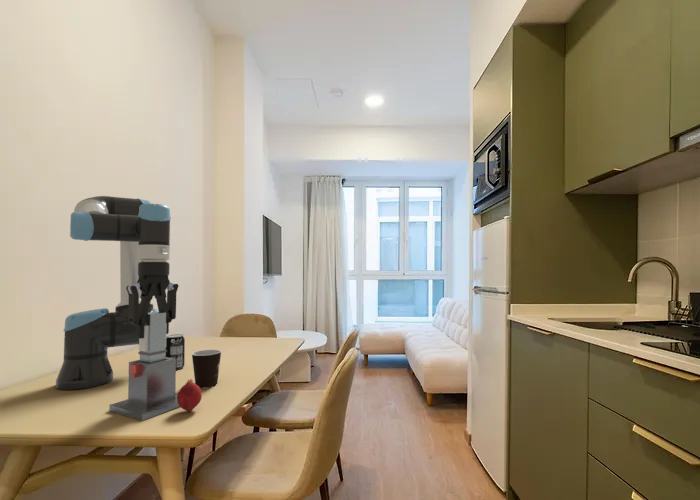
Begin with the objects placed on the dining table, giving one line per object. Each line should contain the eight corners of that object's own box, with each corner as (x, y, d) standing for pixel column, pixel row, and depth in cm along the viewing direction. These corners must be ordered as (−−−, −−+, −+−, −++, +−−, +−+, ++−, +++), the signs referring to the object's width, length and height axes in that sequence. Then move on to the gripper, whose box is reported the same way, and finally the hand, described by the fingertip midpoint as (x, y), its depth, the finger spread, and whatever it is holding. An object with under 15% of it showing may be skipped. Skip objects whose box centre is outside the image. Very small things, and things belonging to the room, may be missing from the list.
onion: (200, 414, 92) (200, 381, 92) (175, 417, 90) (175, 383, 91) (202, 406, 98) (202, 375, 98) (178, 408, 96) (179, 377, 96)
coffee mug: (211, 389, 111) (211, 356, 112) (185, 388, 113) (185, 355, 113) (231, 378, 123) (231, 348, 123) (207, 377, 124) (207, 347, 125)
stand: (109, 410, 95) (110, 363, 96) (160, 394, 107) (160, 352, 108) (141, 420, 88) (142, 369, 89) (192, 402, 101) (192, 357, 101)
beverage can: (171, 365, 141) (172, 334, 141) (188, 366, 140) (188, 334, 140) (160, 370, 134) (161, 337, 135) (177, 370, 133) (177, 337, 134)
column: (137, 398, 97) (138, 313, 98) (155, 392, 101) (156, 311, 103) (148, 401, 95) (150, 314, 96) (166, 395, 99) (167, 312, 100)
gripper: (129, 260, 91) (127, 357, 89) (191, 261, 106) (190, 344, 105) (112, 261, 94) (110, 354, 93) (174, 262, 110) (173, 341, 108)
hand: (152, 348), depth 99 cm, fingers closed on column, 4 cm apart
